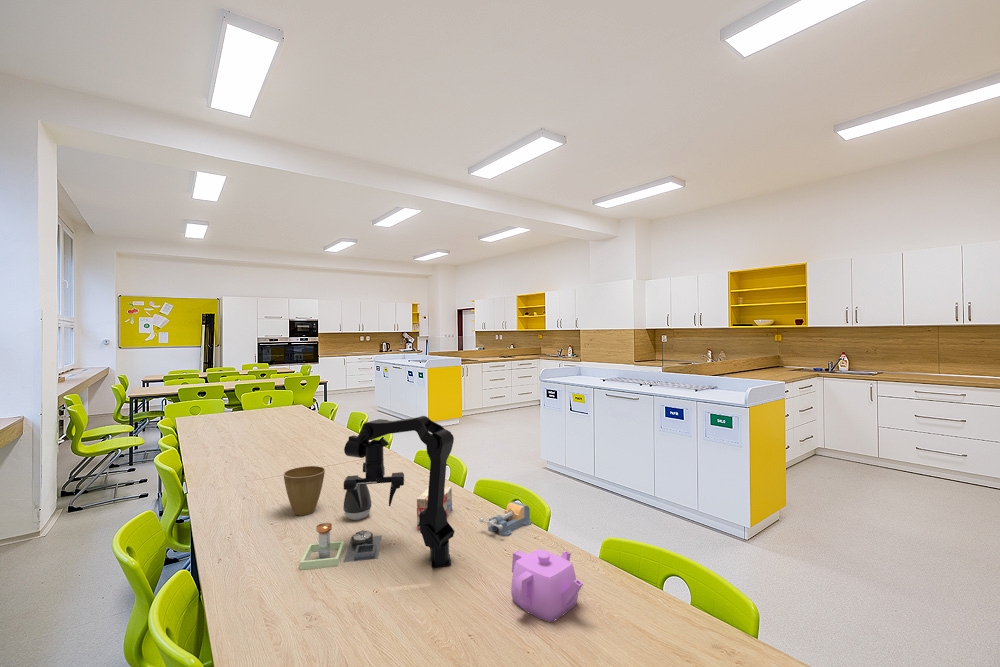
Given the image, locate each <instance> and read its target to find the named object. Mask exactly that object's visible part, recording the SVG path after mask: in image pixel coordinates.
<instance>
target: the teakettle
mask: <svg viewBox="0 0 1000 667" xmlns="http://www.w3.org/2000/svg"><path fill="white" fill-rule="evenodd" d="M571 554H572V552H569V551H563V552H562V553H561V556H559V555H557V554H555V553H552V552H550V551H548V550H545V549H540V548H538V549H535V550H533V551H530V552H529V553H526V552H524V551H521V550H519V549H518V550H515V552H512V567H511V572H512V576H511V577H512V578H511V587H510V590H511V591H510V592H511V597H512V600H513V603H514V604H516V605H517V606H518V605H519V606H520V607H519V606H518V607H519V608H521V609H522V608H523V609H522V610H524V611H525V610H526V611H525V612H527V613H528V612H529V613H528V614H530V613H531V614H530V615H532V616H533V617H536V618H539V619H540V618H541V619H540V620H542V619H543V620H542V621H544V620H546V621H545V622H547V621H550V622H549V623H553V622H555V621H556V620H555V619H557V618H558V619H560V618H561V617H563V616H564V615H566V614H567V613H568V612H569V611H570V609H571V608H572V609H573V608H574V607H576V605H577V602H578V598H579V595H578V594H579V592H580V590H581V588H582V587H583V586H584V583H583V582H581V580H580V579H577V576H576V572H575V569H574V568H575V567H574V565H573V563H572V562H571V560H570V559H571ZM572 609H571V610H572ZM566 612H567V613H566ZM563 614H564V615H563ZM562 615H563V616H562ZM560 616H561V617H560ZM559 617H560V618H559ZM558 619H557V620H558ZM554 620H555V621H554ZM552 621H553V622H552Z"/></svg>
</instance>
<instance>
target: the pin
mask: <svg viewBox="0 0 1000 667" xmlns="http://www.w3.org/2000/svg"><path fill="white" fill-rule="evenodd" d="M332 529H333V525H332V523H331V522H322V523H319V524H318V525H316V531H315V532H316V533H318V543H319V551H318V559H327V558H331V550H330V542H331V536H330V535H331V531H332Z"/></svg>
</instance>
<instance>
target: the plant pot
mask: <svg viewBox="0 0 1000 667" xmlns="http://www.w3.org/2000/svg"><path fill="white" fill-rule="evenodd" d="M325 471H326V469H325V467H322V466H319V465H307V466H306V465H305V466H299V467H294V468H290V469H288V470H286V471H284V472H283V480H284V486H285V490H286V494H287V498H288V502H289V505H290V507H291V509H292V512H293V514H294V515H296V516H308V515H310V514H313V513H314V512H315V510H316V508H317V504H318V501H319V498H320V496H321V493H322V492H321V491H322V488H323V484H324V477H325Z"/></svg>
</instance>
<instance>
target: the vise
mask: <svg viewBox="0 0 1000 667" xmlns="http://www.w3.org/2000/svg"><path fill="white" fill-rule="evenodd" d="M530 510H531V509H530V506H529V505H526V504H523V503H520V502H517V501H514V500H513V501H510V502H509V503H508V504H507V506H506V509H505V510H504V514H502V515H500V514H498V515H496V516H492V517H489V518H488V520H485V518H483V517H480V518H479V522H480V523H486V524H487V530H488V531H489V532H491V533H493V532H495V531H497V530H498V536H501V537H509V536H511V535H512V532H513V531H515V530H517V529H519V528H521V527H523V526H524V527H527V525H529V526H530V525H531V524H532V521H531V518H530V517H531V516H530V515H531V512H530Z"/></svg>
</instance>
